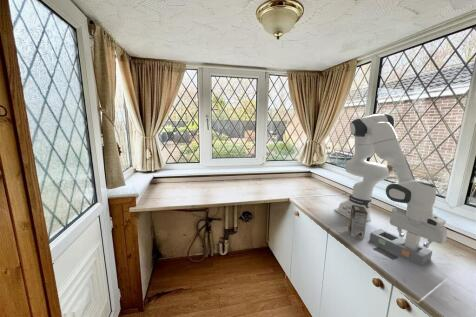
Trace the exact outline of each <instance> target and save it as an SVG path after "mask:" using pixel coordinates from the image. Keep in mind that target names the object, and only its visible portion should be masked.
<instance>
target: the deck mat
mask: <svg viewBox="0 0 476 317" xmlns="http://www.w3.org/2000/svg"><path fill="white" fill-rule="evenodd" d="M372 250H374V251H375V252H378V253H379V254H381V255H383V256H385V257H387V258H389V259H391V260H392V261H394V260H396V259H398V258H399V255H398V256H397V254H395V253H393V252H391V251H390V252H389V250H387V249H385V248H383V247H381V246H377V247H374V248H372Z"/></svg>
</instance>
